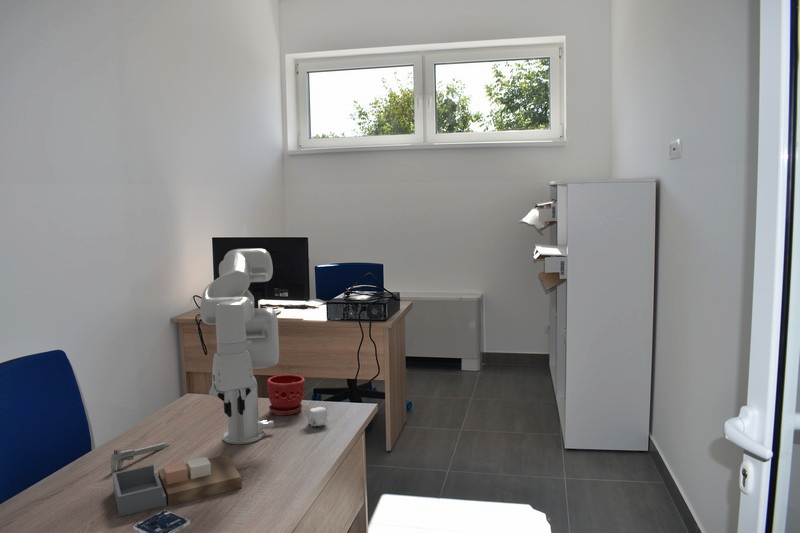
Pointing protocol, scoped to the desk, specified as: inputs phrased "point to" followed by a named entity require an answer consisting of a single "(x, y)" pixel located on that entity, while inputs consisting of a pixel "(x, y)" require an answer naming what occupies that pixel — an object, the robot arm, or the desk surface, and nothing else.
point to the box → (138, 490)
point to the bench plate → (203, 482)
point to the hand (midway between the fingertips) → (234, 413)
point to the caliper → (131, 455)
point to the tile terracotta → (175, 473)
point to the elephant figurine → (316, 415)
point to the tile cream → (198, 467)
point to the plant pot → (285, 394)
